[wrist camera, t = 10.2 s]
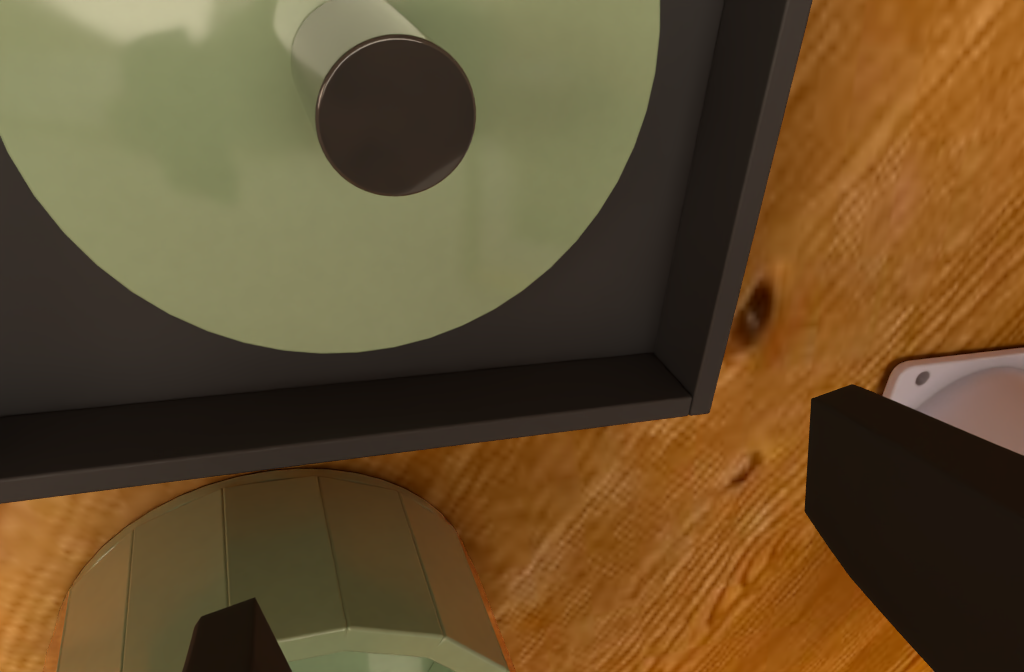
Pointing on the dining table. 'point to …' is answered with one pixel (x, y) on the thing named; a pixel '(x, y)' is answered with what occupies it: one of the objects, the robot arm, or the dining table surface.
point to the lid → (325, 151)
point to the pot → (285, 580)
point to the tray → (431, 362)
